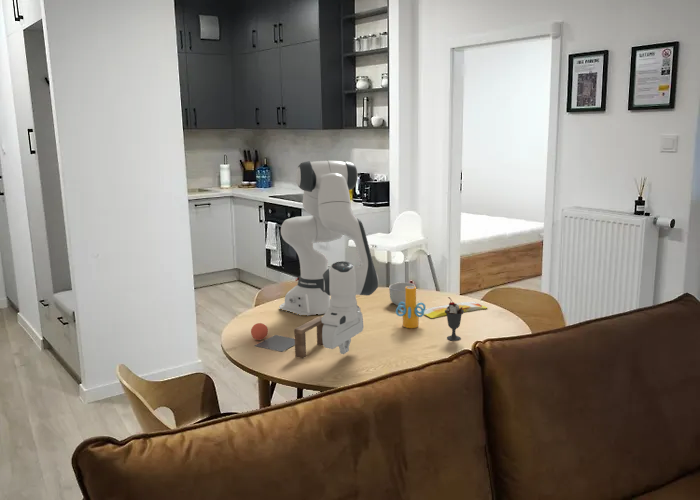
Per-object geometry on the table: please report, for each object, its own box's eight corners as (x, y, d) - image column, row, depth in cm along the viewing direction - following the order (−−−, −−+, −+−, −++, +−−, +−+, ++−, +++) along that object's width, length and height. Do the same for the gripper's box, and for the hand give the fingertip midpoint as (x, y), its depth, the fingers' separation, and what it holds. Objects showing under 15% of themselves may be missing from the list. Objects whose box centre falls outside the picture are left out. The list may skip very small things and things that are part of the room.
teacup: (416, 307, 255) (416, 288, 254) (389, 308, 256) (389, 289, 254) (413, 297, 269) (413, 280, 267) (388, 298, 269) (388, 280, 268)
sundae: (442, 335, 223) (442, 295, 219) (460, 334, 223) (461, 294, 220) (446, 342, 216) (447, 300, 213) (465, 341, 217) (466, 299, 213)
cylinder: (423, 332, 226) (423, 292, 223) (394, 330, 229) (394, 291, 225) (426, 321, 238) (426, 283, 235) (398, 320, 240) (398, 282, 237)
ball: (248, 340, 221) (246, 324, 220) (258, 335, 226) (257, 320, 225) (261, 343, 218) (260, 327, 217) (271, 338, 223) (270, 322, 222)
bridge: (295, 356, 206) (294, 329, 203) (320, 342, 218) (319, 316, 216) (302, 358, 204) (301, 330, 202) (327, 343, 217) (326, 317, 215)
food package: (431, 315, 240) (417, 308, 249) (431, 320, 241) (417, 313, 250) (488, 305, 252) (473, 298, 260) (488, 310, 252) (473, 304, 261)
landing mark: (254, 345, 216) (254, 345, 216) (275, 335, 226) (275, 334, 226) (282, 352, 210) (282, 351, 210) (302, 340, 220) (302, 340, 220)
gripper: (351, 302, 212) (352, 340, 215) (318, 319, 194) (319, 361, 197) (367, 305, 208) (368, 344, 211) (335, 322, 191) (336, 365, 194)
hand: (344, 352), depth 204 cm, fingers closed
